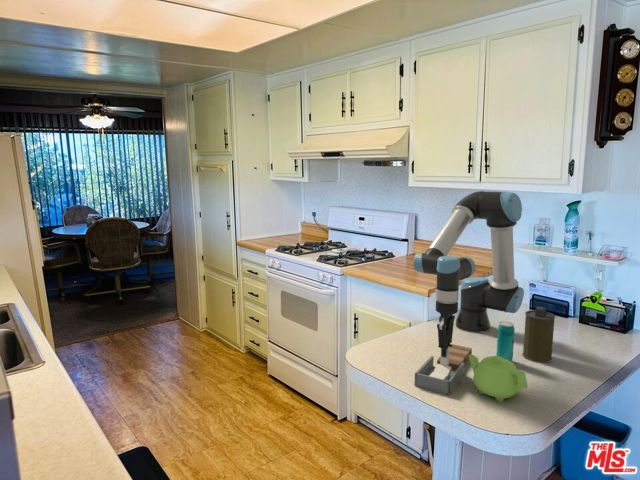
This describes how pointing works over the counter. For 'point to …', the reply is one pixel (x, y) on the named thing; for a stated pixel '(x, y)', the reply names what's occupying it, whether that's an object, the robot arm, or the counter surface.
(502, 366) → the teapot
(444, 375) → the tile
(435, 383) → the tray
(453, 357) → the walnut board
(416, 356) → the counter surface
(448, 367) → the tile
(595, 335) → the counter surface
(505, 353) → the beverage can
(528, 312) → the canister
